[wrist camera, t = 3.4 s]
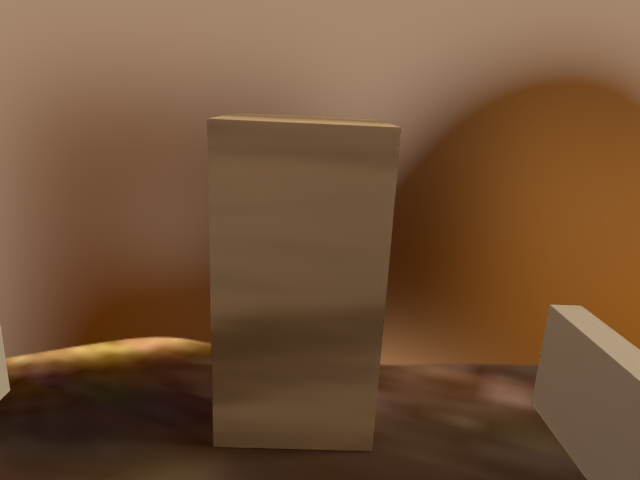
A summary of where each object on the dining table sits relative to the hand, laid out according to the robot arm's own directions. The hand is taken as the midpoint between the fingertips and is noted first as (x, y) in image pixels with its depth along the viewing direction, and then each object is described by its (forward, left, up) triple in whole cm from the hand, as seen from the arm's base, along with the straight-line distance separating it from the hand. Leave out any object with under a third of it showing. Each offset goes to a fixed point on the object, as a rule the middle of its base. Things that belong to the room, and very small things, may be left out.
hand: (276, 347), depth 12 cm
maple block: (+7, -4, -7) cm, 11 cm away
